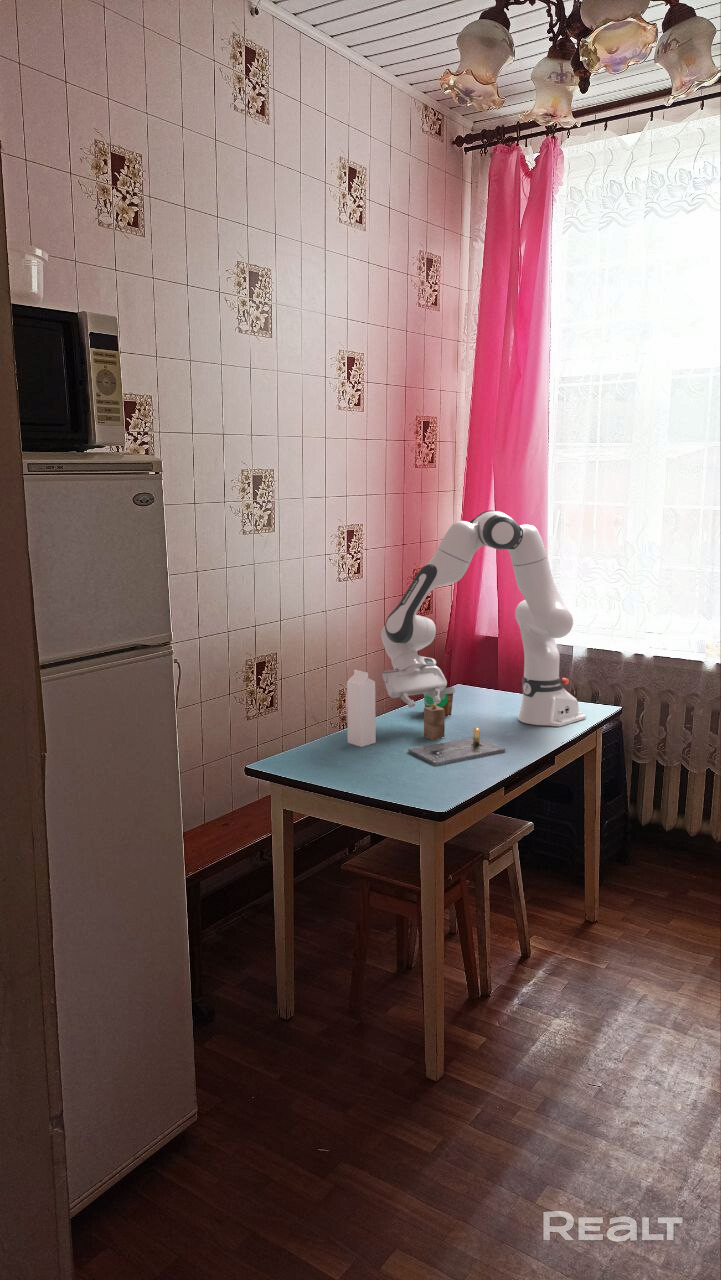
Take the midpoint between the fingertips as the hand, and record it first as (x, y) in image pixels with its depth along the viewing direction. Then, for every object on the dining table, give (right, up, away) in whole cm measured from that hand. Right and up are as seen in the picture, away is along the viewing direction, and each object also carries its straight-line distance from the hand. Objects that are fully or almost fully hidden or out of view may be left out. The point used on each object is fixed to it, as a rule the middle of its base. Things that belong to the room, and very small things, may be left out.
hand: (425, 704), depth 275 cm
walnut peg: (+2, -10, -2) cm, 10 cm away
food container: (+5, -5, +22) cm, 23 cm away
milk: (-20, -11, -8) cm, 24 cm away
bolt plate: (+8, -12, -18) cm, 23 cm away
